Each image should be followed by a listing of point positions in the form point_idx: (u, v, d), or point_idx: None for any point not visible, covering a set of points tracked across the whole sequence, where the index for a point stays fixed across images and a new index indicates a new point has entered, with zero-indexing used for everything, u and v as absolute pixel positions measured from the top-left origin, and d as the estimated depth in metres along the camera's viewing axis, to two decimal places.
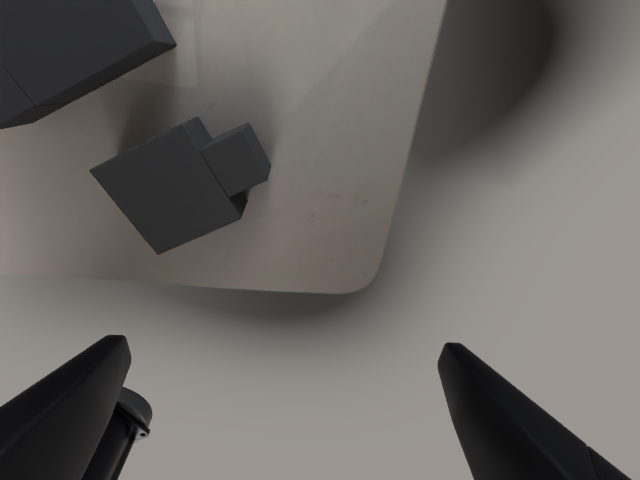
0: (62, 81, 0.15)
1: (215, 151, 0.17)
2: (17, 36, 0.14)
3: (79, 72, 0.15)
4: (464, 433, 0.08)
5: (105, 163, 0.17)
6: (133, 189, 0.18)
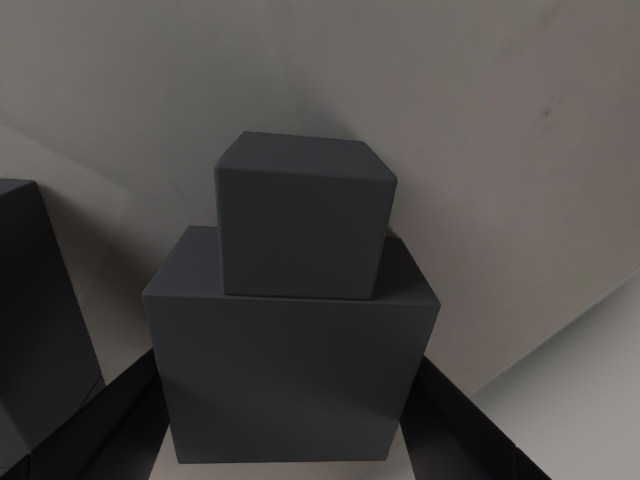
0: None
1: (241, 263, 0.06)
2: None
3: None
4: (408, 433, 0.08)
5: (175, 442, 0.08)
6: (245, 433, 0.08)
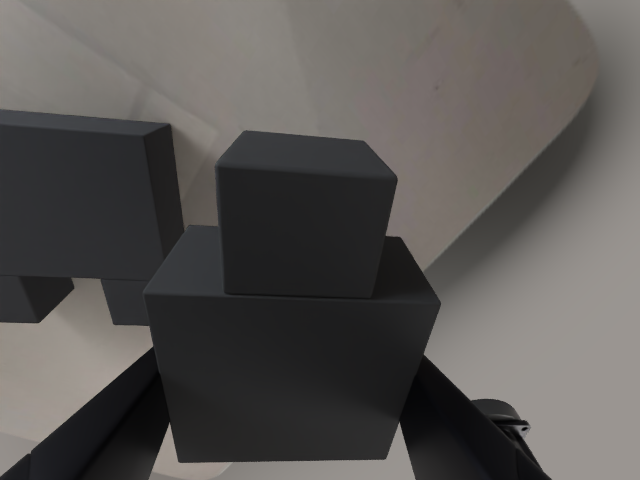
0: (154, 246, 0.15)
1: (242, 262, 0.06)
2: (107, 252, 0.15)
3: (151, 227, 0.14)
4: (408, 433, 0.08)
5: (176, 441, 0.08)
6: (245, 432, 0.08)
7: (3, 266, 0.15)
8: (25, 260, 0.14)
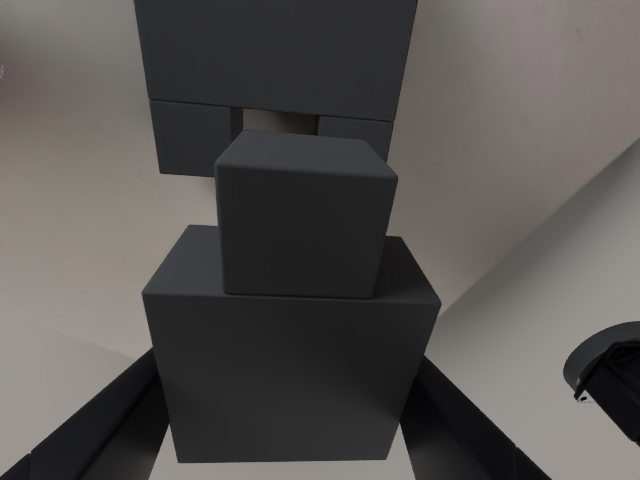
0: (396, 68, 0.12)
1: (241, 261, 0.06)
2: (340, 75, 0.12)
3: (401, 39, 0.12)
4: (408, 434, 0.08)
5: (175, 441, 0.08)
6: (245, 432, 0.08)
7: (218, 91, 0.12)
8: (245, 83, 0.12)
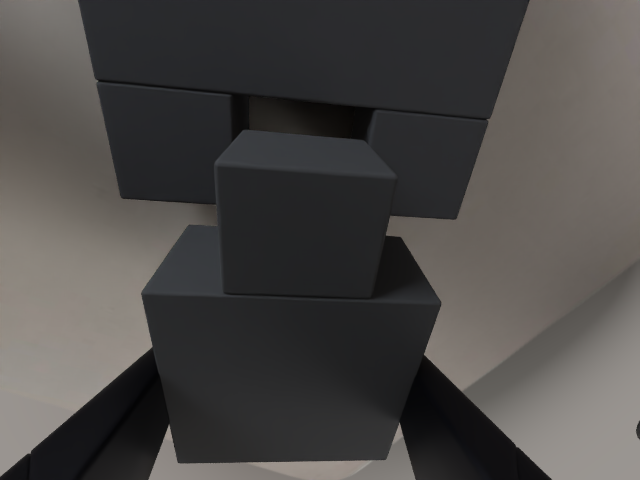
0: (505, 31, 0.07)
1: (241, 262, 0.06)
2: (414, 42, 0.07)
3: None
4: (408, 433, 0.08)
5: (175, 441, 0.08)
6: (245, 432, 0.08)
7: (211, 68, 0.07)
8: (257, 54, 0.07)
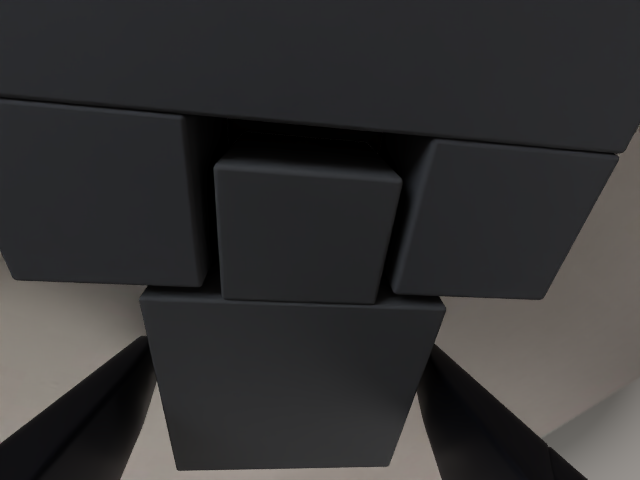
0: None
1: (242, 267, 0.06)
2: (515, 20, 0.04)
3: None
4: (433, 433, 0.08)
5: (174, 448, 0.08)
6: (245, 440, 0.08)
7: (143, 68, 0.04)
8: (225, 43, 0.04)
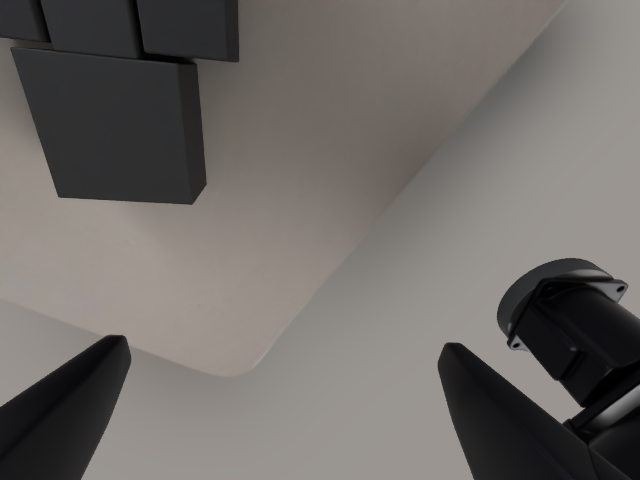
0: None
1: (58, 27, 0.12)
2: None
3: None
4: (464, 433, 0.08)
5: (52, 175, 0.14)
6: (93, 169, 0.14)
7: None
8: None
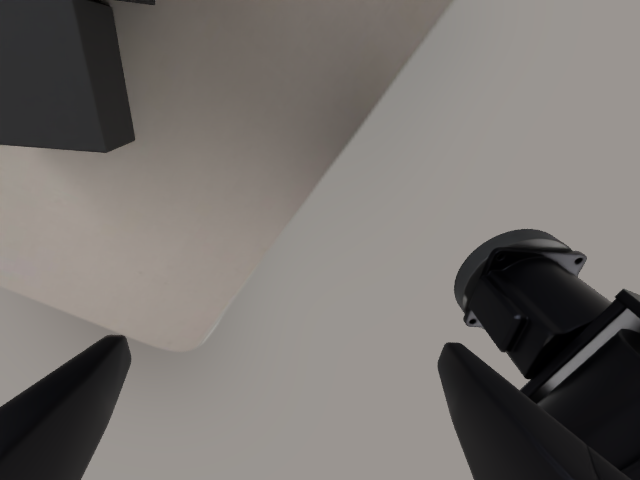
0: None
1: None
2: None
3: None
4: (464, 433, 0.08)
5: None
6: None
7: None
8: None
